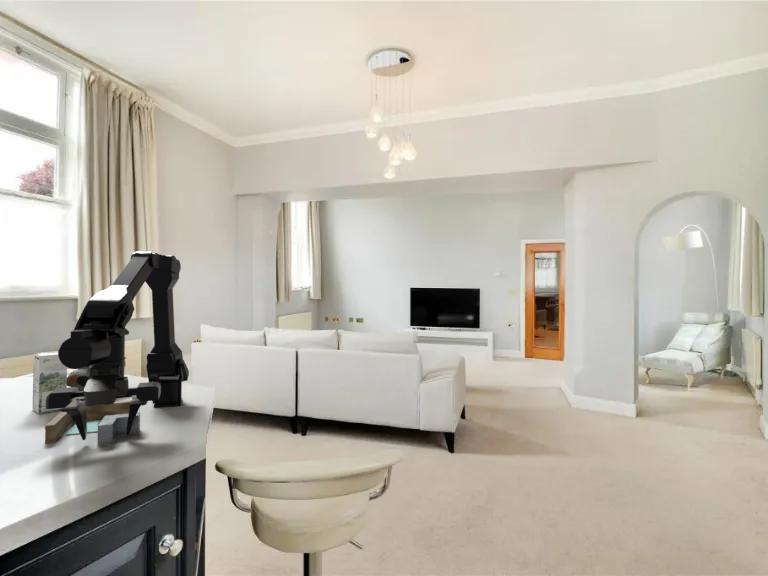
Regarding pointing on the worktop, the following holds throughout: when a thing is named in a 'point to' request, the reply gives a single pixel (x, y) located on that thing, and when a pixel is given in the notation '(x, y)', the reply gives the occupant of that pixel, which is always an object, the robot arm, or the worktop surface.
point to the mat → (91, 427)
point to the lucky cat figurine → (80, 377)
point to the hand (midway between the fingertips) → (106, 437)
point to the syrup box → (47, 379)
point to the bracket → (116, 428)
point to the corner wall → (92, 413)
